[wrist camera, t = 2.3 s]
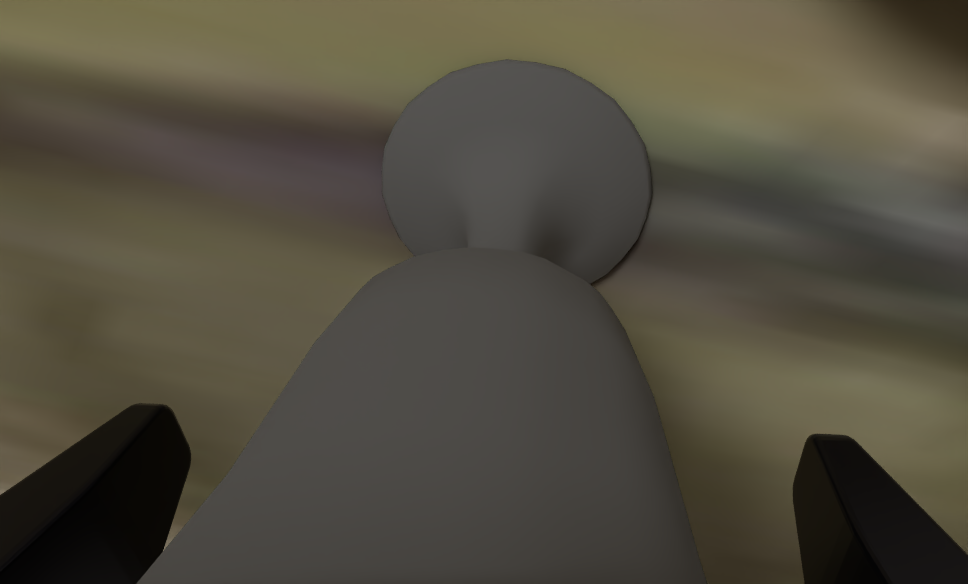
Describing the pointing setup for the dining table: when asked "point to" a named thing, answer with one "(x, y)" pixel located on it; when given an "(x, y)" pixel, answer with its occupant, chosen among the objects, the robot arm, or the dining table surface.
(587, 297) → the sundae
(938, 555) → the robot arm
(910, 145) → the dining table surface
